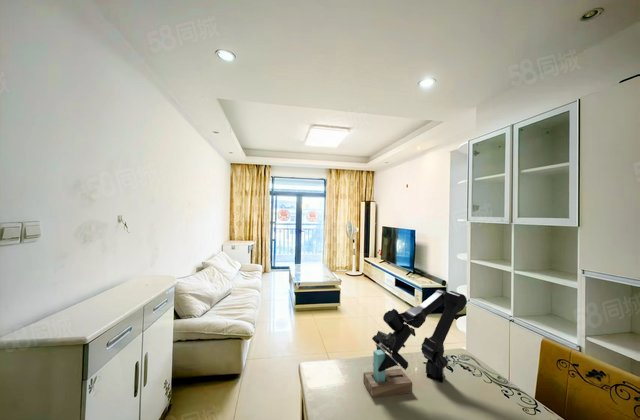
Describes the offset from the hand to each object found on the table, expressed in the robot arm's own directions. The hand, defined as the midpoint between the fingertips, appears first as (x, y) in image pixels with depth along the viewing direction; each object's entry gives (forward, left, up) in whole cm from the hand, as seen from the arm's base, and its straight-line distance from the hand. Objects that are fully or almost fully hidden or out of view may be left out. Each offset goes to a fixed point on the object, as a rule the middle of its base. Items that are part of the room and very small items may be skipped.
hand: (376, 368), depth 98 cm
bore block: (-3, -4, -8) cm, 9 cm away
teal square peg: (-1, -1, -7) cm, 7 cm away
